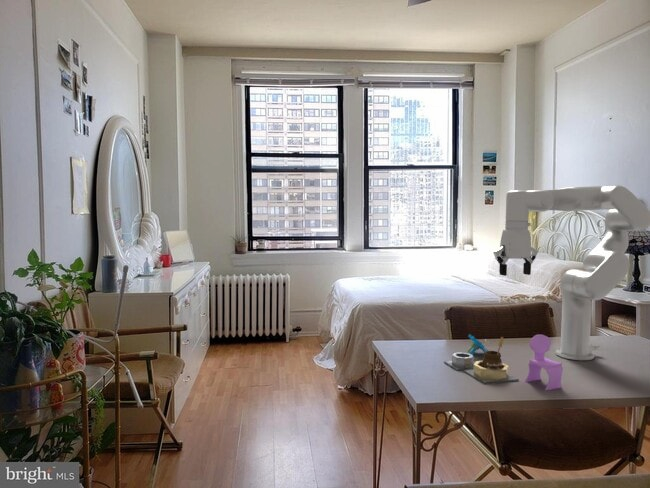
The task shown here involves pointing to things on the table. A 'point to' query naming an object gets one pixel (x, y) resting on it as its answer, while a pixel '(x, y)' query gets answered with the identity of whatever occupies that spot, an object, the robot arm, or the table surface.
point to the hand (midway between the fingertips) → (515, 274)
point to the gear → (475, 345)
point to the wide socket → (491, 374)
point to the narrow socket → (461, 361)
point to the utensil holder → (492, 358)
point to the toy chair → (544, 363)
